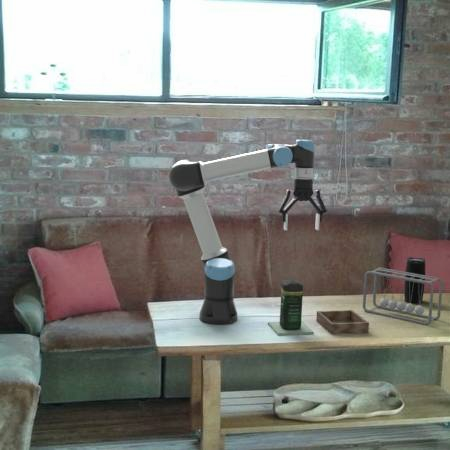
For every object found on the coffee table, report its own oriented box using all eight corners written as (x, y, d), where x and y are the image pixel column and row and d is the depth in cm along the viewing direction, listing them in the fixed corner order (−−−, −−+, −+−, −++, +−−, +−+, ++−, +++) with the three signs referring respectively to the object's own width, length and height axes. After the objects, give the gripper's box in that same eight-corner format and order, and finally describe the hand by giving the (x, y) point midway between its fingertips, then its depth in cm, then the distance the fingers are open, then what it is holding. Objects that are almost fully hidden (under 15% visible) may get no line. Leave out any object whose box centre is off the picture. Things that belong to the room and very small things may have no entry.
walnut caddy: (331, 334, 262) (331, 324, 261) (316, 320, 279) (316, 311, 278) (368, 332, 265) (369, 322, 265) (351, 319, 282) (352, 309, 281)
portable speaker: (423, 299, 315) (426, 257, 311) (422, 305, 306) (426, 261, 302) (403, 297, 317) (406, 255, 314) (402, 303, 308) (406, 259, 305)
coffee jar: (303, 330, 263) (305, 283, 260) (282, 330, 262) (284, 283, 259) (297, 322, 273) (299, 276, 270) (277, 323, 272) (279, 276, 269)
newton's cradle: (440, 320, 284) (443, 278, 281) (430, 326, 276) (433, 282, 273) (373, 306, 302) (375, 266, 299) (361, 311, 294) (364, 270, 291)
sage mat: (277, 335, 259) (277, 333, 259) (267, 323, 273) (267, 322, 273) (313, 333, 262) (313, 331, 262) (301, 322, 276) (302, 320, 276)
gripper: (276, 179, 275) (274, 231, 279) (336, 179, 280) (333, 231, 284) (271, 177, 283) (269, 228, 286) (329, 177, 288) (327, 227, 291)
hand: (301, 229), depth 285 cm, fingers open, 13 cm apart
